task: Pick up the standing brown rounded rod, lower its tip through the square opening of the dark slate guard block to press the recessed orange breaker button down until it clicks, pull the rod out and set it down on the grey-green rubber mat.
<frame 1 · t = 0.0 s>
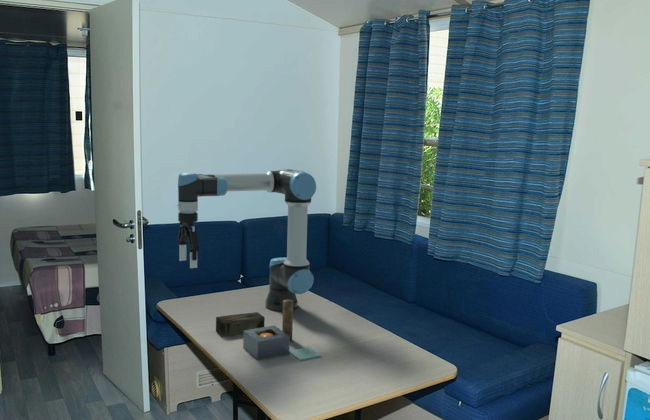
hand: (188, 264, 240), 28 cm above the table, fingers open, 13 cm apart
beverage carton: (240, 331, 247), on the table
breaker button: (266, 341, 225), point 4 cm above the table, slide at 0.0 cm
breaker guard: (266, 351, 226), on the table
brown rounded rod: (287, 339, 238), on the table
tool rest: (304, 354, 223), on the table
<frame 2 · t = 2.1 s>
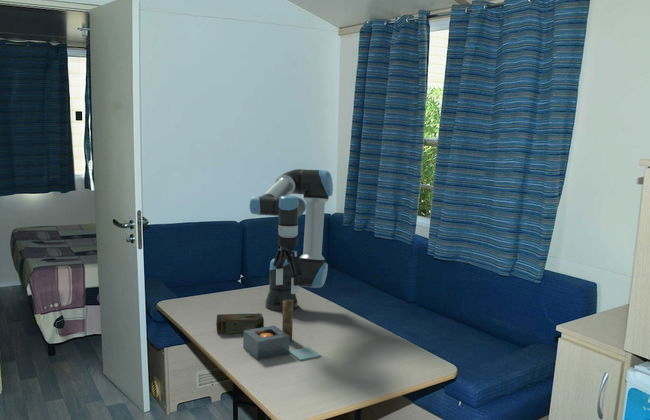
hand: (286, 289, 235), 21 cm above the table, fingers open, 13 cm apart
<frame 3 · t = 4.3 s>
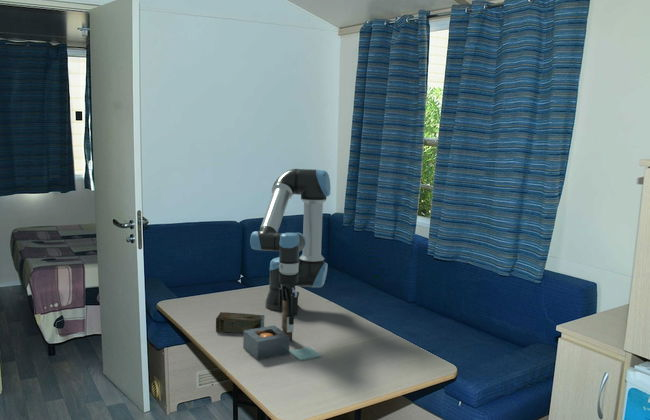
hand: (287, 329, 237), 4 cm above the table, fingers closed on brown rounded rod, 4 cm apart
brown rounded rod: (287, 339, 238), on the table, touching gripper
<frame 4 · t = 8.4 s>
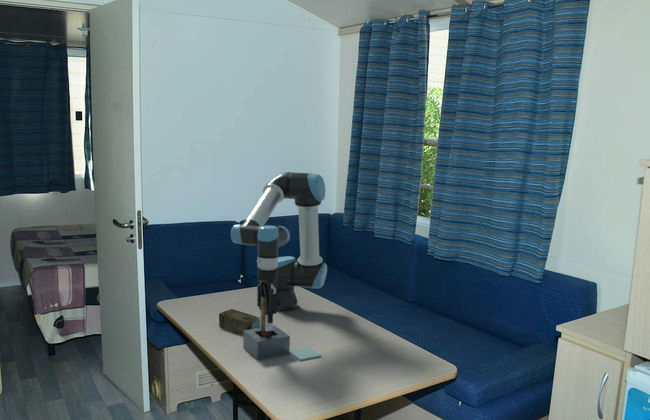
hand: (266, 328, 224), 9 cm above the table, fingers closed on brown rounded rod, 4 cm apart
breaker button: (266, 344, 225), point 2 cm above the table, slide at 1.2 cm, touching brown rounded rod
brown rounded rod: (266, 338, 225), point 5 cm above the table, touching breaker button, gripper
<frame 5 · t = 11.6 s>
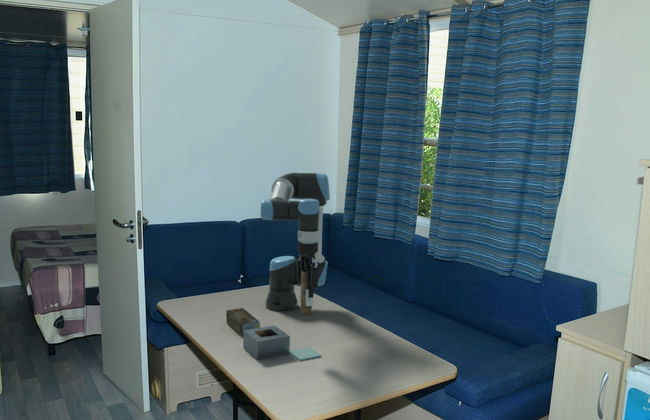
hand: (306, 303, 221), 20 cm above the table, fingers closed on brown rounded rod, 4 cm apart
breaker button: (266, 344, 225), point 2 cm above the table, slide at 1.2 cm
brown rounded rod: (306, 313, 221), point 16 cm above the table, touching gripper
when the fingers open (6 cm above the table, at t = 14.2 s): brown rounded rod drops 1 cm, resting on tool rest.
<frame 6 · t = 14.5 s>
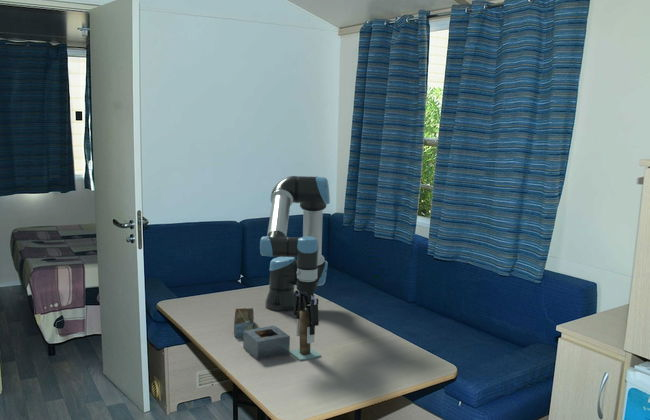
hand: (305, 338, 223), 6 cm above the table, fingers open, 7 cm apart
brown rounded rod: (305, 352, 223), point 1 cm above the table, touching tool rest
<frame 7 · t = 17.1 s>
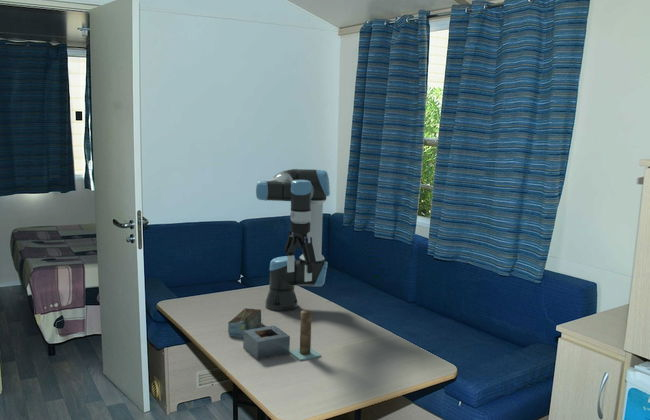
hand: (299, 276, 227), 28 cm above the table, fingers open, 13 cm apart
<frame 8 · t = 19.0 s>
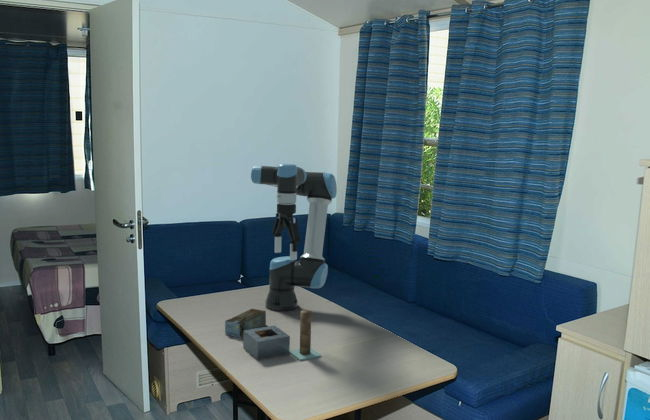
hand: (285, 256, 239), 33 cm above the table, fingers open, 13 cm apart
at the end: breaker button slide at 1.2 cm; brown rounded rod inside the target area on the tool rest (0.0 cm from its centre), point 0.6 cm above the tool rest's base; the gripper is holding nothing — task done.
